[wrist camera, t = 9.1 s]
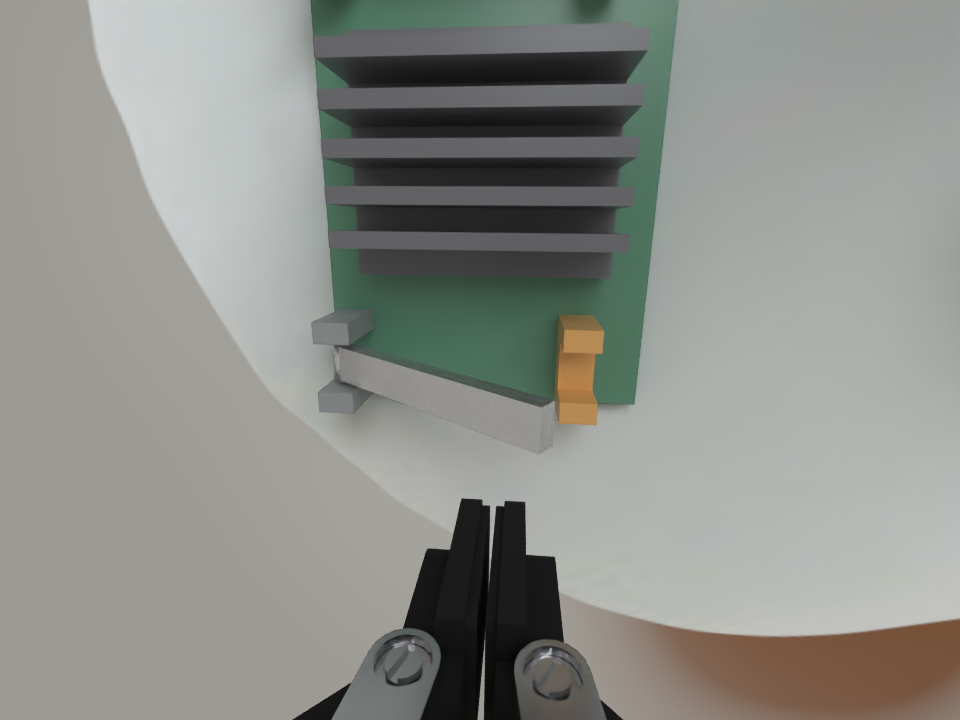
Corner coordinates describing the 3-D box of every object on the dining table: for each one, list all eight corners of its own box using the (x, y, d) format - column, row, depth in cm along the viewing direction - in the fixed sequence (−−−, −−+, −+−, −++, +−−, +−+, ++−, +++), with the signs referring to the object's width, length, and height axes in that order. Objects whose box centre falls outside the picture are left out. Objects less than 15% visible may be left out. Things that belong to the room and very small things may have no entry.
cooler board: (310, -122, 24) (225, -259, 17) (687, -144, 23) (757, -304, 16) (347, 386, 32) (298, 429, 25) (630, 397, 30) (660, 448, 24)
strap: (345, 339, 28) (327, 343, 27) (556, 397, 19) (540, 405, 18) (347, 374, 28) (330, 379, 28) (553, 447, 19) (537, 457, 19)
